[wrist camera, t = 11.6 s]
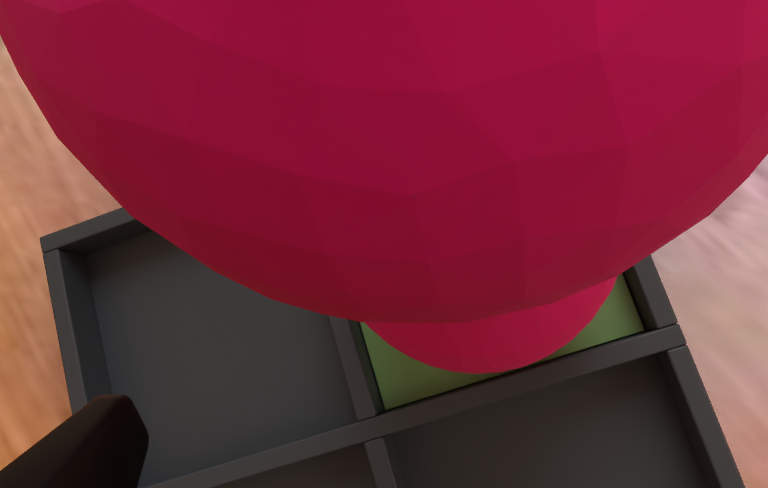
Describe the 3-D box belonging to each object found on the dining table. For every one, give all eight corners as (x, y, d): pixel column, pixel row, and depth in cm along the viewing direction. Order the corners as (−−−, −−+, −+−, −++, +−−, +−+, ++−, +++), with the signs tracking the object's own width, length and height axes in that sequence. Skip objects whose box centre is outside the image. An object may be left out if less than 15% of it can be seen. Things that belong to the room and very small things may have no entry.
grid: (797, 662, 17) (831, 696, 16) (184, 810, 19) (152, 855, 18) (560, 70, 21) (565, 44, 20) (72, 246, 23) (38, 237, 22)
